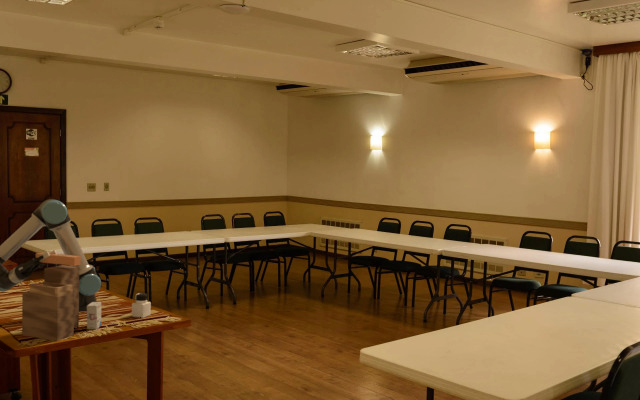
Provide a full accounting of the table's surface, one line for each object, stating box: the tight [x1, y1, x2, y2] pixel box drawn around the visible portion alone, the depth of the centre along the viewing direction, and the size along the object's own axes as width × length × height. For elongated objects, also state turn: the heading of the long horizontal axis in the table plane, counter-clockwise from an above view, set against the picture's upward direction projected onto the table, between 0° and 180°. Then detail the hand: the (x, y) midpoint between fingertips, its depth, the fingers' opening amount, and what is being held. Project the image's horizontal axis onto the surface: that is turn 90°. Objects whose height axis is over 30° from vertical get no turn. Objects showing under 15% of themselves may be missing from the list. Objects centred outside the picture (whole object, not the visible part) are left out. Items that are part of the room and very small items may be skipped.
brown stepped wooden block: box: [21, 264, 80, 342], centre depth 291 cm, size 22×21×30 cm
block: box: [35, 252, 81, 266], centre depth 296 cm, size 4×24×4 cm, turn 69°
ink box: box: [86, 301, 102, 330], centre depth 302 cm, size 9×5×12 cm, turn 5°
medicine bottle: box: [131, 292, 152, 319], centre depth 327 cm, size 7×7×12 cm
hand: (52, 252), depth 297 cm, fingers closed on block, 4 cm apart
